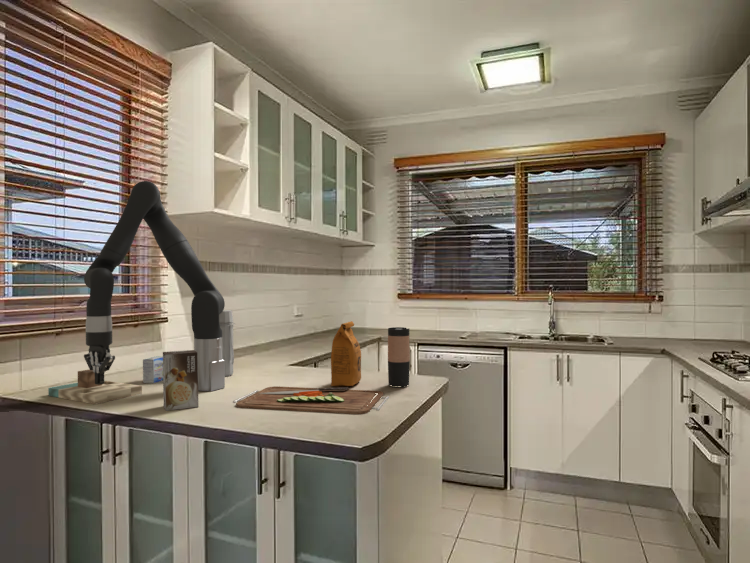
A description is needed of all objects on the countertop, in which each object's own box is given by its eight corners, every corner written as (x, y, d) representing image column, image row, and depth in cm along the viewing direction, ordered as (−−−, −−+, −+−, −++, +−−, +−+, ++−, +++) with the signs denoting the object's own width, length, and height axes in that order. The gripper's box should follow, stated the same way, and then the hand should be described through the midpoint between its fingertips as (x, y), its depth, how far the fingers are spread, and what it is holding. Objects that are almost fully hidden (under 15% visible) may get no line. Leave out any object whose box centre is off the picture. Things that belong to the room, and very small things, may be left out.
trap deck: (141, 393, 166) (141, 386, 166) (94, 404, 152) (94, 395, 152) (96, 386, 178) (96, 379, 178) (48, 395, 164) (48, 387, 164)
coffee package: (365, 381, 185) (365, 321, 185) (353, 389, 173) (353, 324, 173) (340, 380, 188) (340, 320, 188) (326, 387, 176) (326, 323, 176)
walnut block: (102, 385, 168) (101, 370, 168) (87, 388, 163) (87, 372, 163) (92, 383, 170) (92, 368, 170) (77, 386, 165) (77, 371, 165)
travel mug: (384, 386, 177) (384, 328, 177) (392, 382, 184) (392, 326, 184) (405, 388, 174) (405, 329, 174) (412, 384, 181) (412, 327, 181)
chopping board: (223, 408, 149) (223, 398, 149) (262, 389, 175) (262, 380, 175) (374, 417, 140) (374, 405, 140) (392, 395, 166) (392, 386, 166)
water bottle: (209, 376, 197) (209, 311, 197) (225, 372, 204) (225, 310, 203) (224, 378, 192) (224, 311, 192) (241, 375, 198) (241, 310, 198)
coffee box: (195, 402, 154) (195, 349, 154) (198, 407, 149) (198, 352, 149) (162, 406, 150) (162, 351, 150) (164, 411, 144) (164, 354, 144)
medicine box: (153, 383, 183) (153, 359, 183) (142, 383, 184) (142, 359, 184) (166, 379, 191) (166, 356, 191) (156, 379, 192) (156, 355, 192)
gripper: (123, 329, 164) (123, 384, 164) (97, 328, 170) (97, 380, 170) (101, 332, 157) (101, 388, 157) (75, 330, 164) (75, 384, 164)
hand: (99, 384), depth 164 cm, fingers closed
